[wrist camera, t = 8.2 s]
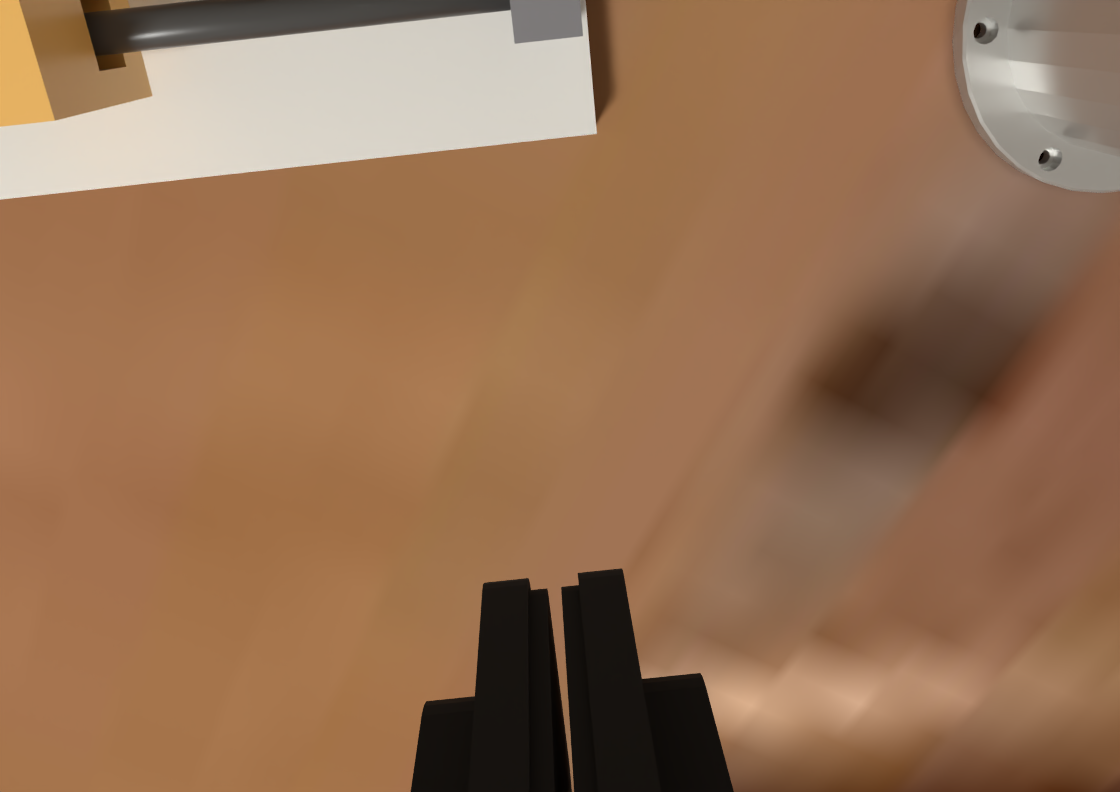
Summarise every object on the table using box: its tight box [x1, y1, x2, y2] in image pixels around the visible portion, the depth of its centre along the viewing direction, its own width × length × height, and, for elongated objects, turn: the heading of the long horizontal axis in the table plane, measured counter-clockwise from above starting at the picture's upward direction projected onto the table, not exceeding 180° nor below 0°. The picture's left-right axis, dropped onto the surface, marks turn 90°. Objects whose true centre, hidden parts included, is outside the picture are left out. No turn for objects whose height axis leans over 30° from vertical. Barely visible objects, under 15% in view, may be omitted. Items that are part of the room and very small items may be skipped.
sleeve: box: [0, 0, 153, 127], centre depth 27 cm, size 5×4×7 cm
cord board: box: [0, 0, 597, 199], centre depth 29 cm, size 27×10×9 cm, turn 96°
